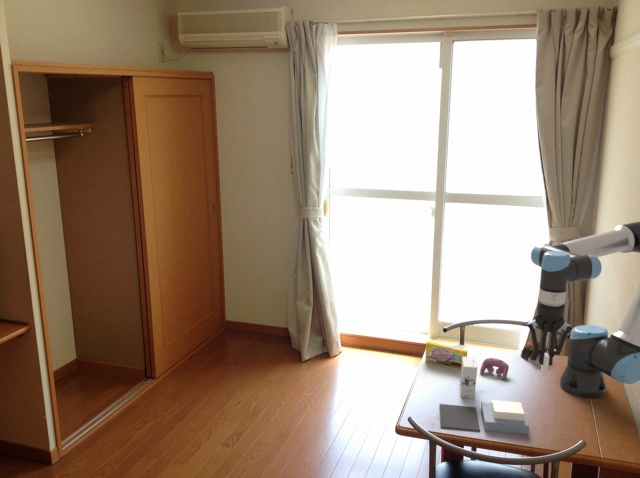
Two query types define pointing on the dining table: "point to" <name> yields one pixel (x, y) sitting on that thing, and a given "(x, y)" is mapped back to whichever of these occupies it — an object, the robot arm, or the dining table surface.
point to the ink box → (468, 377)
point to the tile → (507, 410)
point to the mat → (459, 417)
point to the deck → (501, 422)
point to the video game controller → (498, 363)
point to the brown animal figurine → (530, 351)
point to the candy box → (444, 355)
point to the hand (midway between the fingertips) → (544, 373)
